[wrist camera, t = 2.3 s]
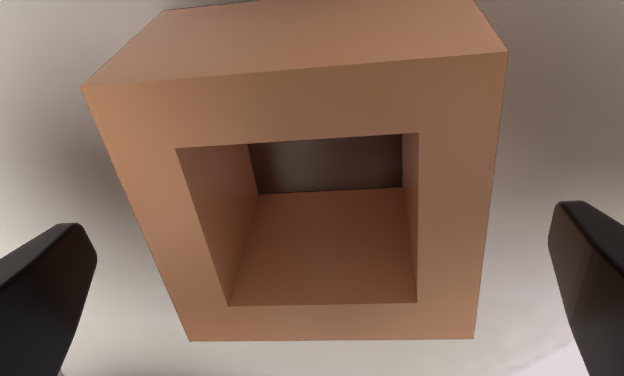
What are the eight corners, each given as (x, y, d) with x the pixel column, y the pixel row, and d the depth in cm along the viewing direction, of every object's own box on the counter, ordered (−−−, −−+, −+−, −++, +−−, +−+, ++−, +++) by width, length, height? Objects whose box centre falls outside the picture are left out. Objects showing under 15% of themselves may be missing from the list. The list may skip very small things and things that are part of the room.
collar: (446, 219, 14) (473, 339, 10) (227, 228, 14) (189, 341, 11) (459, -21, 10) (508, 51, 7) (163, 11, 11) (79, 87, 8)
